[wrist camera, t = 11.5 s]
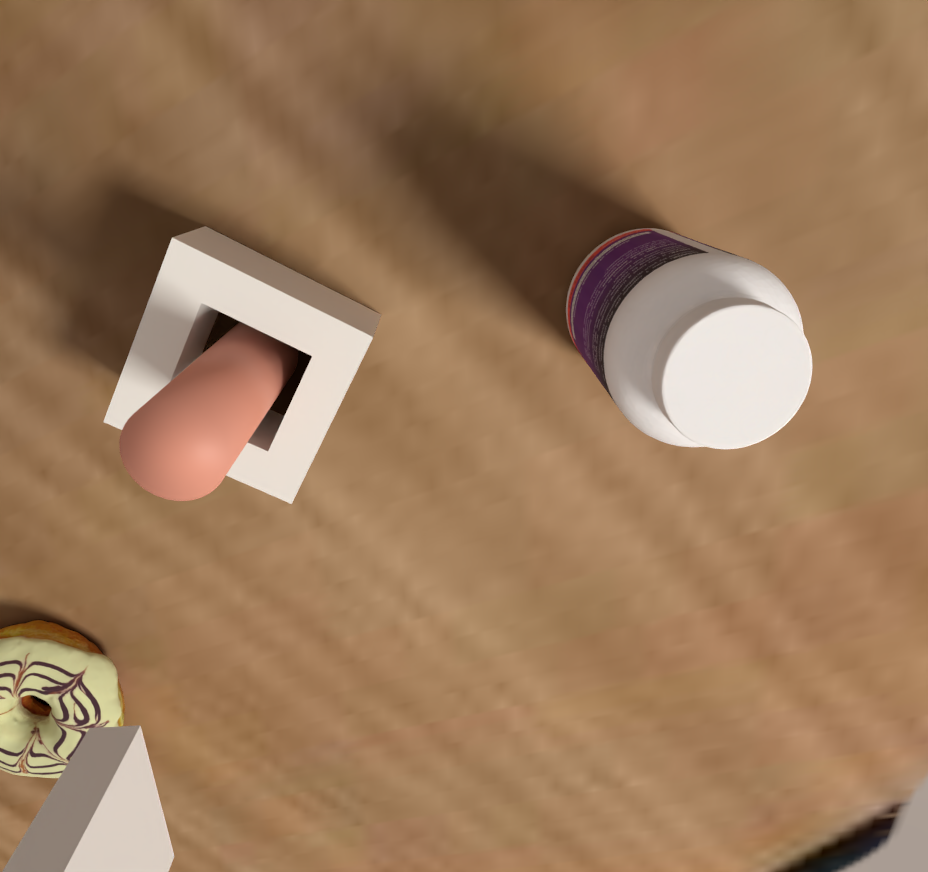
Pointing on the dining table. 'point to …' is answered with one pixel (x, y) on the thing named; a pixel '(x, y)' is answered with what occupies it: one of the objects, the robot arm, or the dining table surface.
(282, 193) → the dining table surface
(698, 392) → the pill bottle
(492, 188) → the dining table surface
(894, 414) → the dining table surface
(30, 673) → the decorated donut
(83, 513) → the dining table surface
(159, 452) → the peg
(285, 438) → the socket block
